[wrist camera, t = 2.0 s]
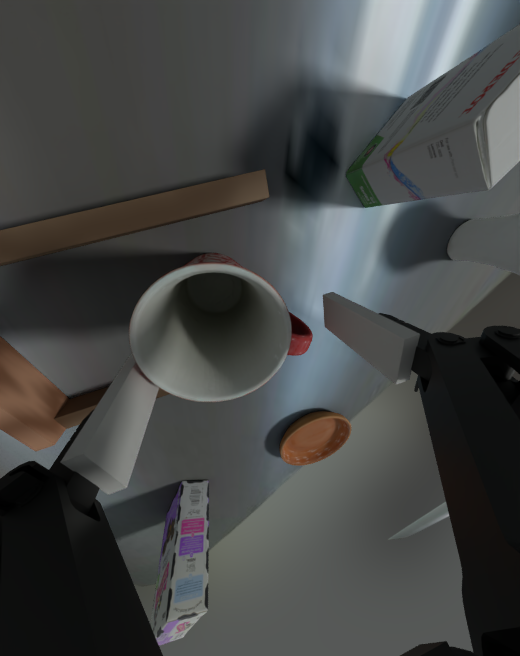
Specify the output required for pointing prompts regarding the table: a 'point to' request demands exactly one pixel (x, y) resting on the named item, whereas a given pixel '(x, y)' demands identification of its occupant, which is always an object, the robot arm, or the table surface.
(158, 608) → the candy box
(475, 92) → the ink box
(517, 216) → the cup
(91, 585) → the robot arm
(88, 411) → the guide channel
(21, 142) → the table surface
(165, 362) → the mug
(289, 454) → the saucer
